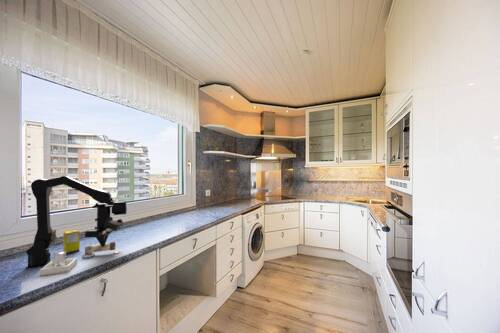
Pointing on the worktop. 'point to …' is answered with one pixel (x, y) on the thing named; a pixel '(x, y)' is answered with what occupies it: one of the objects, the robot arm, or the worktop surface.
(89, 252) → the crank arm
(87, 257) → the crank base
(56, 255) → the stop plug
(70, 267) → the tray
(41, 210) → the robot arm
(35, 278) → the worktop surface
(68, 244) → the supplement box
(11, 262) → the worktop surface
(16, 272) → the worktop surface
